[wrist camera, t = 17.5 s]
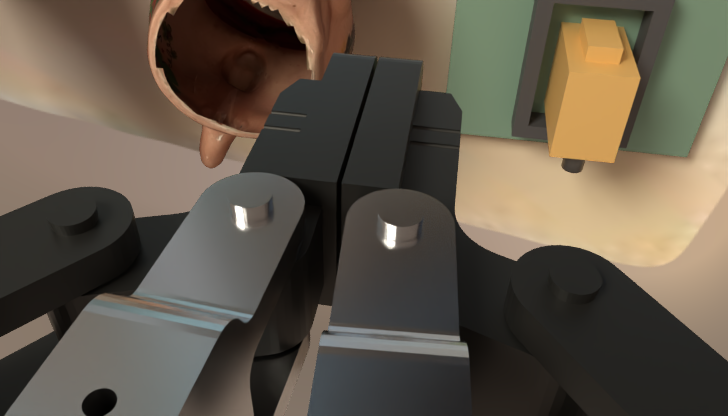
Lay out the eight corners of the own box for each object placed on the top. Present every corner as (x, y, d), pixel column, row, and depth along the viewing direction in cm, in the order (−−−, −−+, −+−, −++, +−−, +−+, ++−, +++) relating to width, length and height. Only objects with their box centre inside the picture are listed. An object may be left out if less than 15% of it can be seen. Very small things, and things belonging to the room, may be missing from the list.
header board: (443, 121, 52) (440, 146, 49) (464, -64, 43) (461, -46, 40) (682, 145, 50) (692, 173, 47) (757, -43, 41) (774, -22, 38)
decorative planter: (336, 122, 54) (295, 236, 43) (190, 75, 53) (112, 179, 42) (412, -139, 41) (381, -68, 30) (220, -206, 40) (119, -156, 29)
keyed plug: (538, 124, 49) (543, 181, 44) (564, 7, 43) (573, 56, 38) (594, 130, 49) (605, 188, 43) (627, 12, 43) (645, 62, 38)
